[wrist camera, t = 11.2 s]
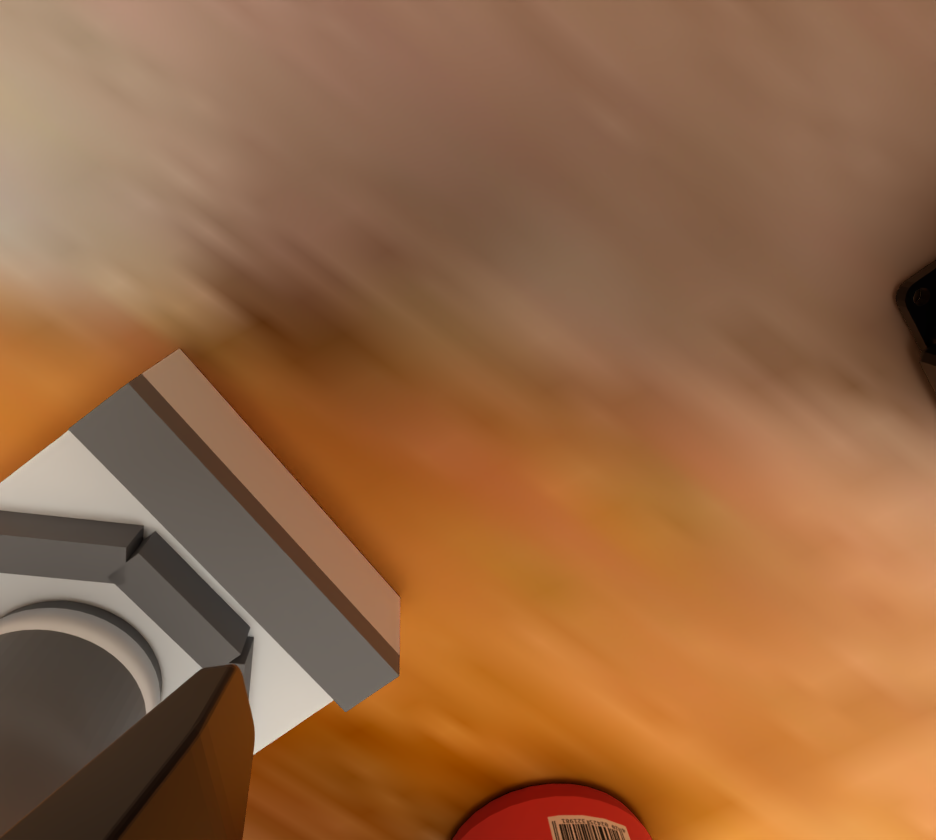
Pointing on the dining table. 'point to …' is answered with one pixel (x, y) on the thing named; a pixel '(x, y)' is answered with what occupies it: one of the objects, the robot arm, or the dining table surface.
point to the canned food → (553, 816)
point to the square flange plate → (200, 550)
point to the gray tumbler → (65, 695)
